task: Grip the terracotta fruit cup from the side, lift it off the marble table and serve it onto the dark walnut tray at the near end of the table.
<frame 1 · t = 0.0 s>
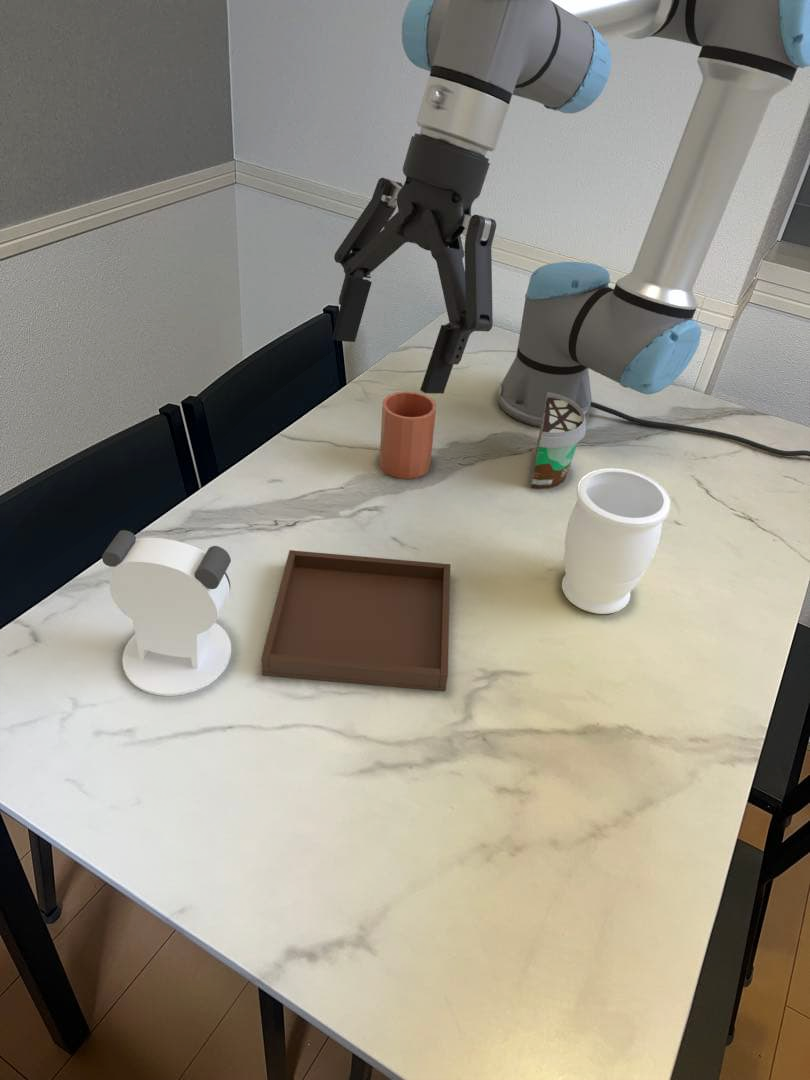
hand: (385, 365, 81), 28 cm above the table, tool tilted 20°, fingers open, 13 cm apart
jar: (594, 592, 99), on the table
panda figurine: (181, 656, 87), on the table
cup: (404, 464, 117), on the table
tray: (362, 623, 92), on the table
food container: (553, 474, 118), on the table
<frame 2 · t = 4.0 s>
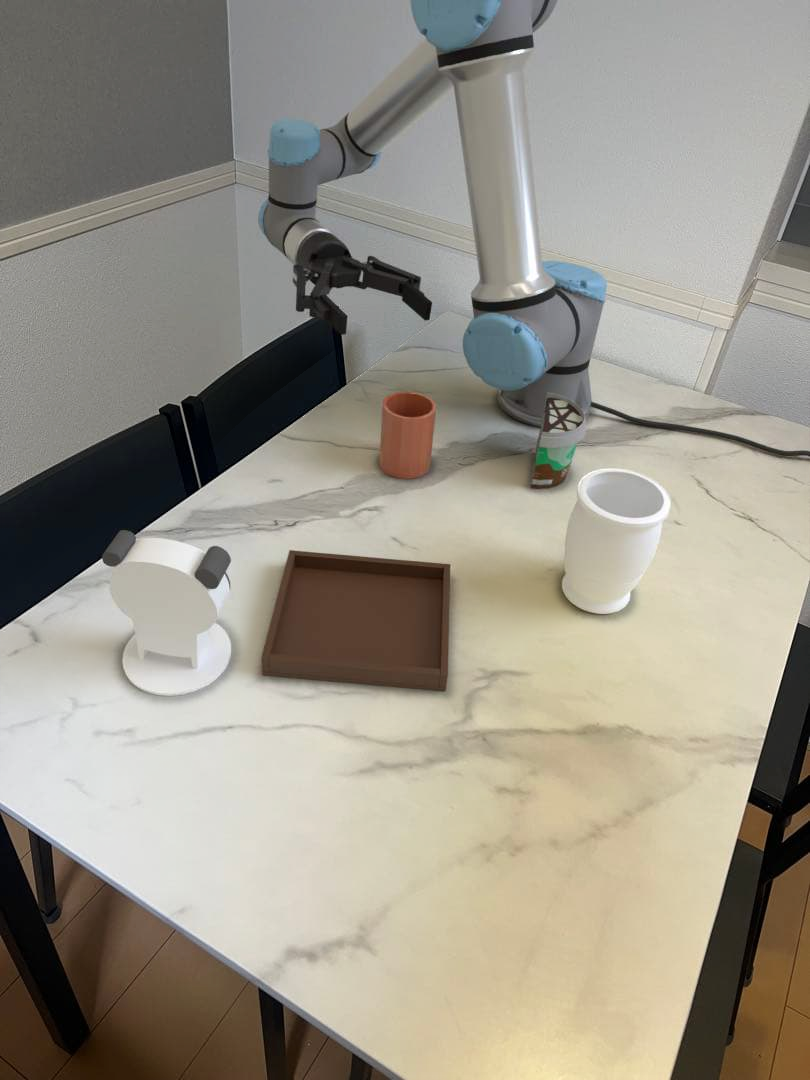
hand: (387, 318, 110), 19 cm above the table, tool horizontal, fingers open, 13 cm apart
nothing on the table moved.
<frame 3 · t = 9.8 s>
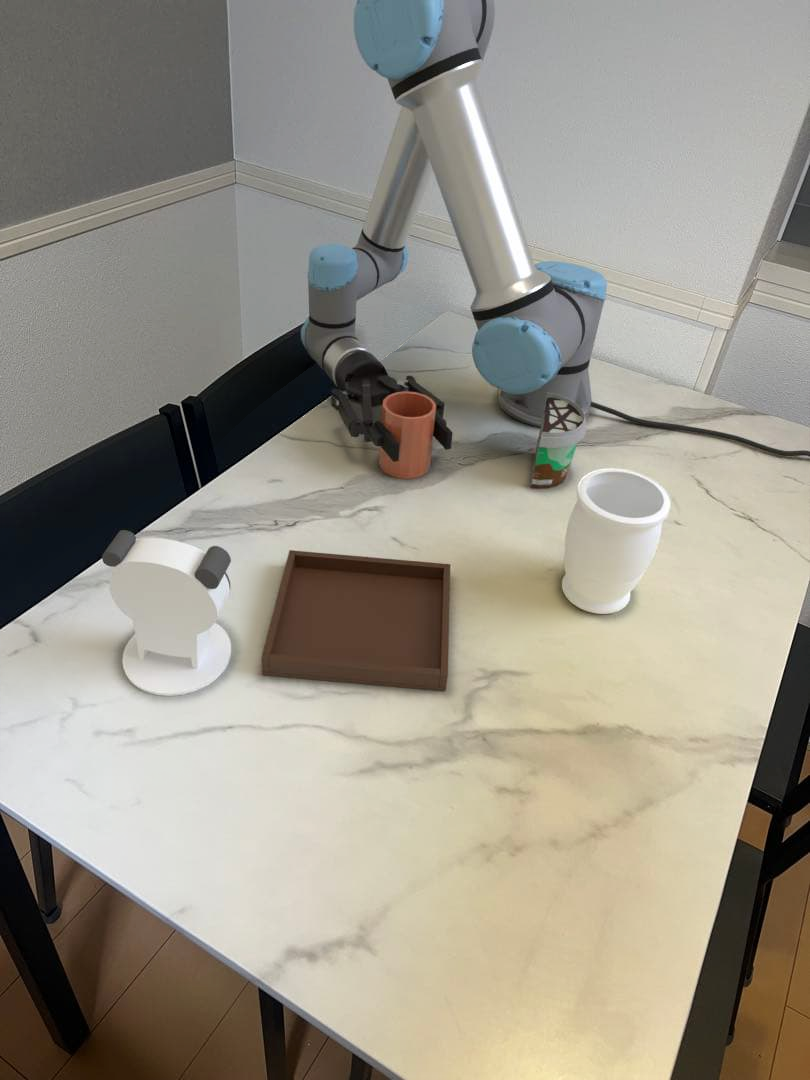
hand: (423, 447, 110), 6 cm above the table, tool horizontal, fingers closed on cup, 7 cm apart
cup: (404, 464, 117), on the table, touching gripper
everything else where it was.
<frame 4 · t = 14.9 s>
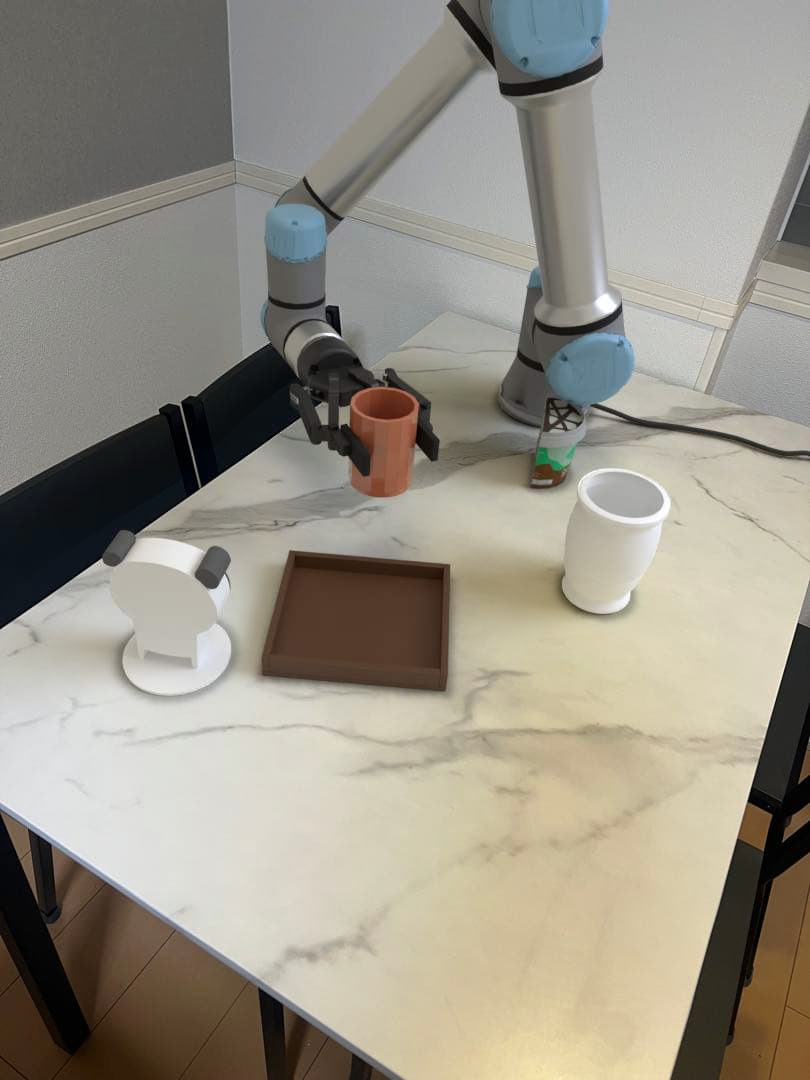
hand: (401, 458, 86), 18 cm above the table, tool horizontal, fingers closed on cup, 7 cm apart
cup: (380, 478, 93), point 12 cm above the table, touching gripper
everything else where it was.
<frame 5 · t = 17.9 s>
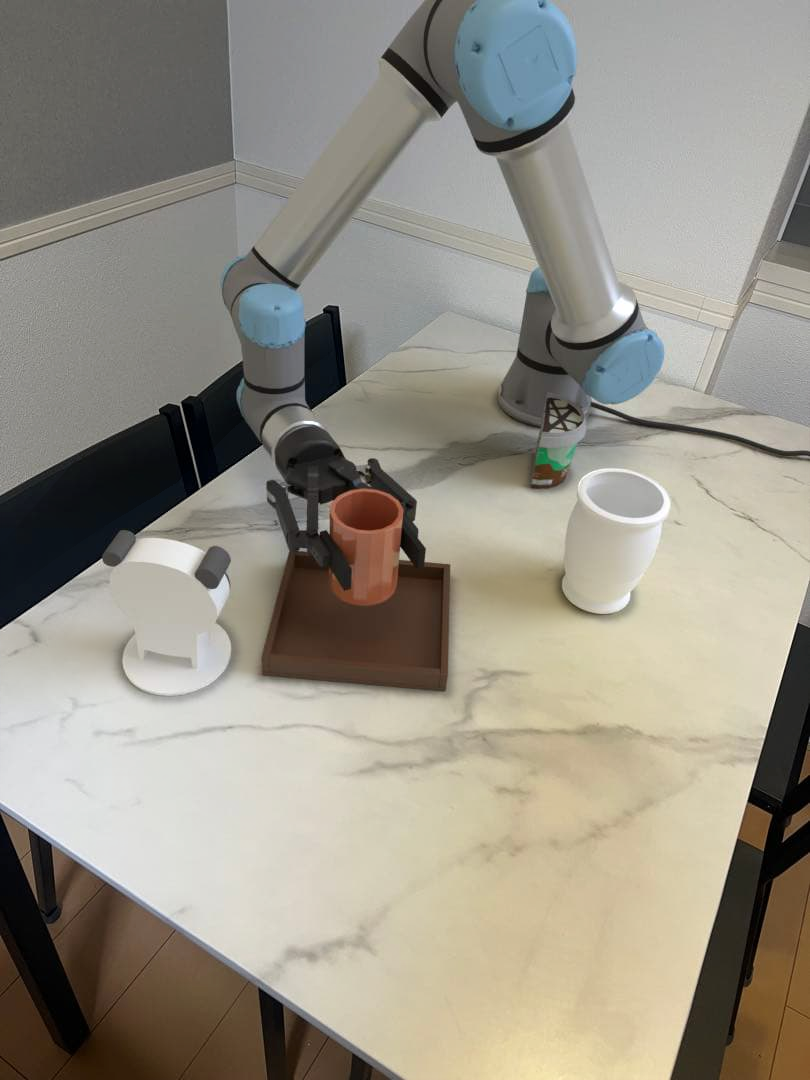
hand: (385, 569, 80), 13 cm above the table, tool horizontal, fingers closed on cup, 7 cm apart
cup: (363, 582, 88), point 7 cm above the table, touching gripper
everything else where it was.
when the fingers open (7 cm above the table, at t = 20.0 s): cup stays where it is, resting on tray.
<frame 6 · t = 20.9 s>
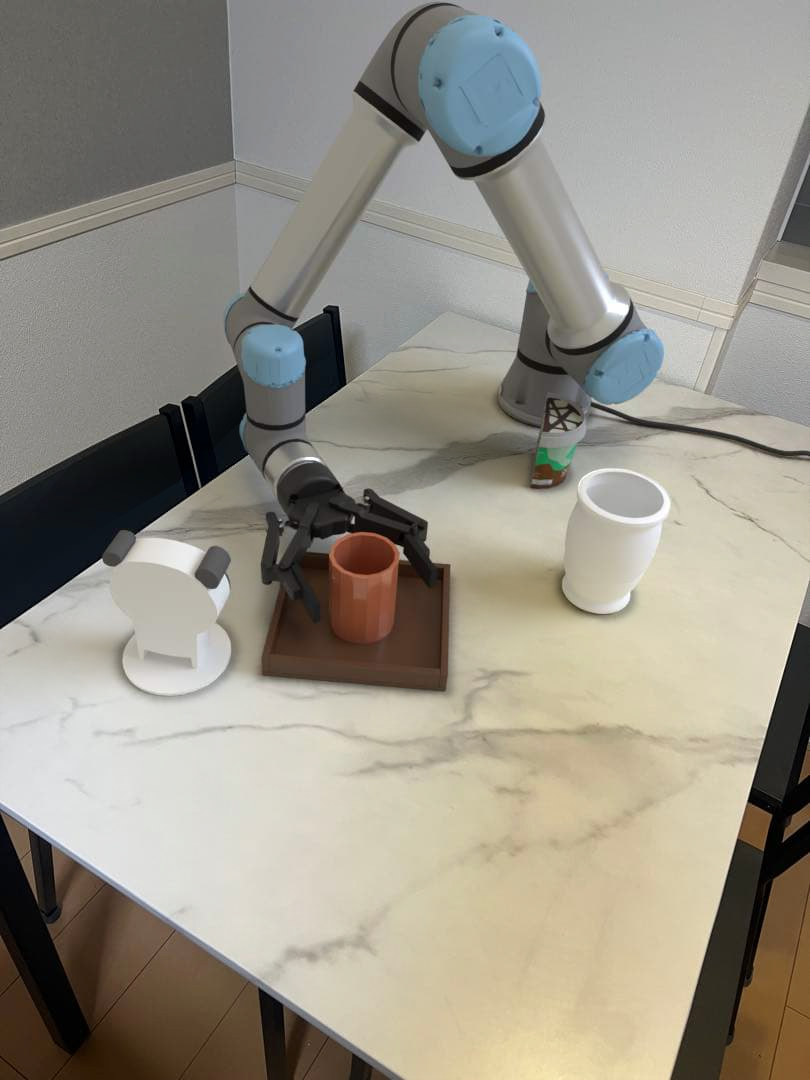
hand: (377, 595, 85), 7 cm above the table, tool horizontal, fingers open, 13 cm apart
cup: (361, 620, 91), point 1 cm above the table, touching tray
everything else where it was.
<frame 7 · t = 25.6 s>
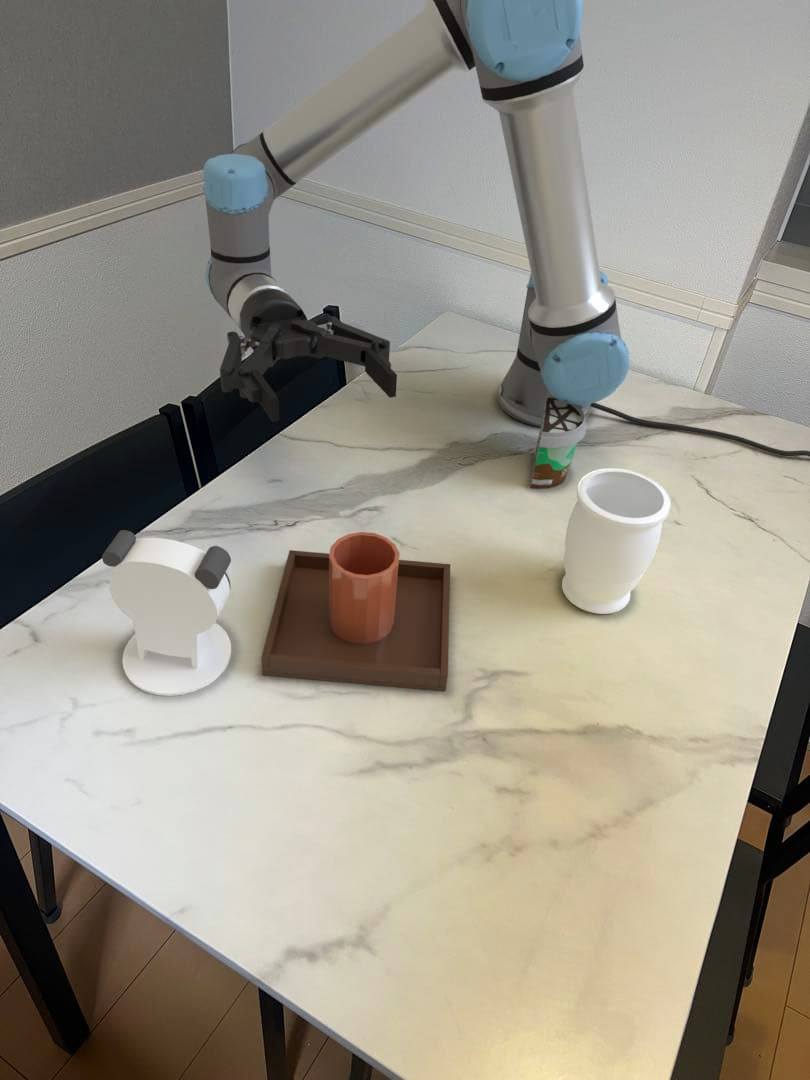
hand: (336, 398, 85), 23 cm above the table, tool horizontal, fingers open, 13 cm apart
nothing on the table moved.
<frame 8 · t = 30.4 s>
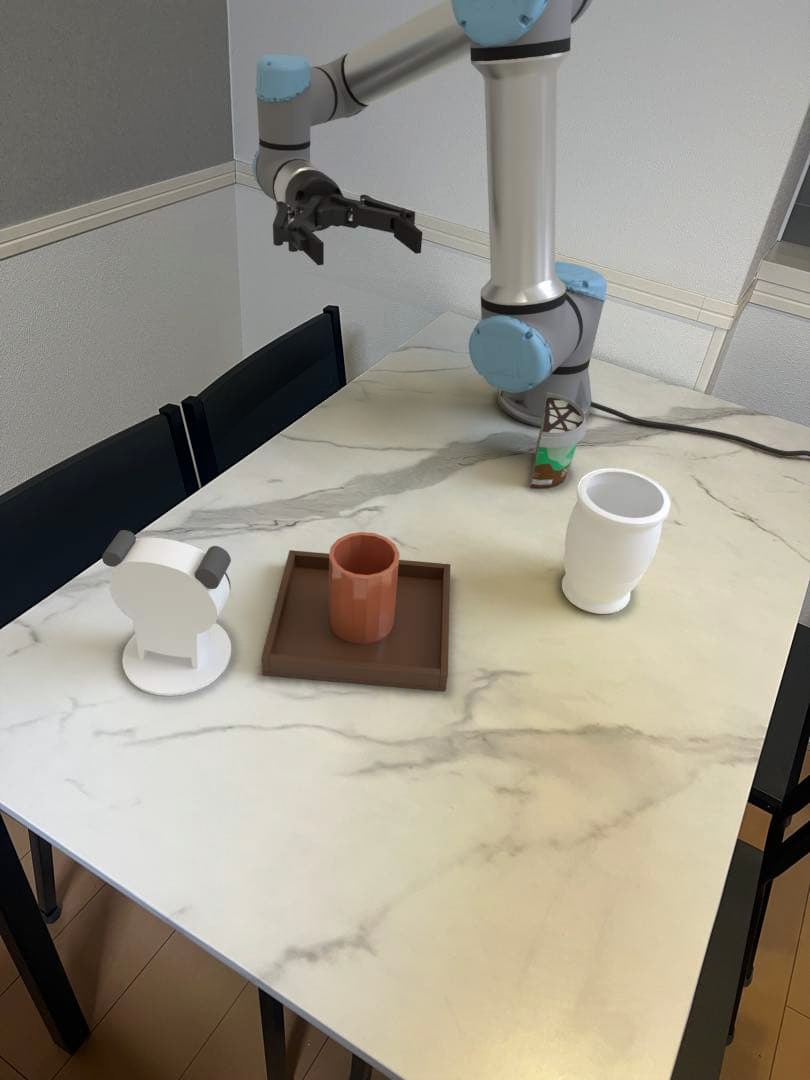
hand: (371, 248, 100), 30 cm above the table, tool horizontal, fingers open, 13 cm apart
nothing on the table moved.
at the end: cup inside the target area in the tray (0.1 cm from its centre), point 0.6 cm above the tray's base; cup tilted 0°; the gripper is holding nothing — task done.
